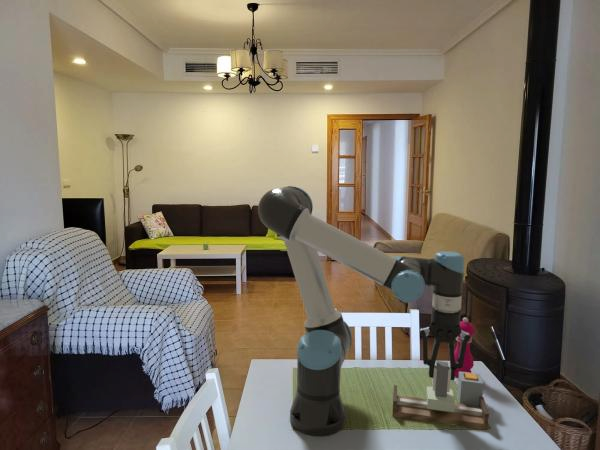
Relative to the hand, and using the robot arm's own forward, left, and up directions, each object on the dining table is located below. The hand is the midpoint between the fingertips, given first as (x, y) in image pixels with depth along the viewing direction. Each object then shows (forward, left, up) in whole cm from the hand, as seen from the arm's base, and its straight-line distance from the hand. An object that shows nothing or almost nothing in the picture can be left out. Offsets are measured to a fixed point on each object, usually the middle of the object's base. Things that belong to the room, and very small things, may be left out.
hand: (440, 388), depth 124 cm
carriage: (0, 0, -5) cm, 5 cm away
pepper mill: (+9, +27, -8) cm, 29 cm away
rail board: (0, 0, -8) cm, 8 cm away
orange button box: (+9, +9, -8) cm, 15 cm away
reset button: (+9, +9, -5) cm, 14 cm away
